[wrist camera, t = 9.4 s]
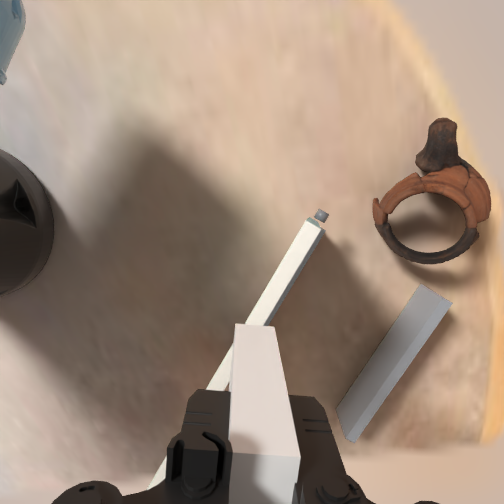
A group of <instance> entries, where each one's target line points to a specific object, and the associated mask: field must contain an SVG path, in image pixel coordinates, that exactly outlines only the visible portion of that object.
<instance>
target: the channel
mask: <svg viewBox="0 0 504 504" xmlns="http://www.w3.org/2000/svg"><path fill="white" fill-rule="evenodd" d="M328 216H329V214H327V213H326V212H324V211H322V210H320V209H318V211H317V213H316V214H315V216H314V217H315V218H316V219H318V220H320V221H322V222H323V223H325V221H326V219H327V218H328ZM320 228H321V227H320ZM324 233H325V230H324V229H323V228H321V230H320V232H319V234H318V235H317V237H316V239H315V240H314V242H313V244H312V245H311V247H310V249H309V250H308V252H307V254H306V255H305V257H304V259H303V260H302V262H301V264H300V265H299V267H298V269H297V270H296V272H295V274H294V275H293V277H292V278H291V280H290V282H289V283H288V285H287V287H286V288H285V290H284V292H283V293H282V295H281V297H280V298H279V300H278V302H277V303H276V305H275V307H274V308H273V310H272V312H271V313H270V315H269V317H268V318H267V320H266V322H265V323H264V325H263V326H268V325H269V323H270V322H271V320H272V318H273V317H274V315H275V314H276V312H277V310H278V309H279V307H280V305H281V304H282V302H283V300H284V299H285V297H286V295H287V294H288V292H289V290H290V289H291V287H292V285H293V284H294V282H295V281H296V279H297V277H298V276H299V274H300V272H301V271H302V269H303V267H304V266H305V264H306V262H307V261H308V259H309V257H310V256H311V254H312V252H313V251H314V249H315V248H316V246H317V244H318V243H319V241H320V239H321V238H322V236H323V234H324ZM452 304H453V303H452V302H450V301H448V300H447V299H445V298H444V297H442V296H440V295H439V294H437V293H436V292H434V291H432V290H431V289H429V288H427V287H426V286H424V285H422V284H420V285H419V287H418V288H417V290H416V291H415V293H414V294H413V296H412V297H411V299H410V300H409V302H408V303H407V305H406V306H405V308H404V309H403V311H402V312H401V314H400V315H399V316H398V318H397V319H396V321H395V322H394V324H393V325H392V327H391V328H390V330H389V331H388V333H387V334H386V336H385V337H384V339H383V340H382V342H381V343H380V345H379V346H378V348H377V349H376V350H375V352H374V353H373V355H372V356H371V358H370V359H369V361H368V362H367V364H366V365H365V367H364V368H363V370H362V371H361V373H360V374H359V376H358V377H357V379H356V380H355V381H354V383H353V384H352V386H351V387H350V389H349V390H348V392H347V393H346V395H345V396H344V398H343V399H342V401H341V402H340V404H339V405H338V407H337V408H336V412H337V415H338V418H339V421H340V424H341V427H342V430H343V433H344V435H345V438H346V439H347V440H349V441H351V442H353V443H355V442H356V440H357V439H358V437H359V436H360V435H361V433H362V432H363V430H364V429H365V427H366V426H367V425H368V423H369V422H370V420H371V419H372V417H373V416H374V415H375V413H376V412H377V410H378V409H379V408H380V406H381V405H382V403H383V402H384V400H385V399H386V398H387V396H388V395H389V393H390V392H391V390H392V389H393V388H394V386H395V385H396V383H397V382H398V380H399V379H400V378H401V376H402V375H403V373H404V372H405V370H406V369H407V368H408V366H409V365H410V363H411V362H412V361H413V359H414V358H415V356H416V355H417V353H418V352H419V351H420V349H421V348H422V346H423V345H424V343H425V342H426V341H427V339H428V338H429V336H430V335H431V333H432V332H433V331H434V329H435V328H436V326H437V325H438V324H439V322H440V321H441V319H442V318H443V316H444V315H445V314H446V312H447V311H448V309H449V308H450V306H451V305H452Z"/></svg>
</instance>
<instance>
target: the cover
mask: <svg viewBox="0 0 504 504" xmlns="http://www.w3.org/2000/svg"><path fill="white" fill-rule="evenodd" d="M320 230H321V228H320V226H319V224H318V222H317V221H315V220H313V219H312V218H310V217H309V218H308V219H307V220H306V221H305V223H304V224H303V226H302V228H301V229H300V231H299V233H298V234H297V236H296V238H295V240H294V241H293V243H292V245H291V246H290V248H289V250H288V251H287V253H286V255H285V256H284V258H283V260H282V261H281V263H280V265H279V267H278V268H277V270H276V272H275V273H274V275H273V277H272V278H271V280H270V282H269V283H268V285H267V287H266V288H265V290H264V292H263V294H262V295H261V297H260V299H259V300H258V302H257V304H256V305H255V307H254V309H253V310H252V312H251V314H250V316H249V317H248V319H247V321H246V322H245V324H248V325H259V326H263V325H264V323H265V322H266V320H267V318H268V317H269V315H270V313H271V312H272V310H273V308H274V307H275V305H276V303H277V302H278V300H279V298H280V297H281V295H282V293H283V292H284V290H285V288H286V287H287V285H288V283H289V282H290V280H291V278H292V277H293V275H294V274H295V272H296V270H297V269H298V267H299V265H300V264H301V262H302V260H303V259H304V257H305V255H306V254H307V252H308V250H309V249H310V247H311V245H312V244H313V242H314V240H315V239H316V237H317V235H318V234H319V232H320ZM232 353H233V344H232V346H231V348H230V349H229V351H228V353H227V354H226V356H225V358H224V359H223V361H222V363H221V365H220V366H219V368H218V370H217V371H216V373H215V375H214V376H213V378H212V380H211V381H210V383H209V385H208V386H207V388H206V390H216V391H224V390H225V388H226V386H227V385H228V383H229V381H230V373H231V363H232ZM166 459H167V456H166V457H165V459H164V461H163V462H162V464H161V466H160V468H159V469H158V471H157V473H156V474H155V476H154V478H153V479H152V481H151V483H150V484H149V486H148V488H147V490H149V489H151V488H152V487H154V486H156V485H158V484H159V483H160V482H161V481H163V480H164V479H165V475H166Z"/></svg>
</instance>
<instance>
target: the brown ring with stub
mask: <svg viewBox="0 0 504 504" xmlns="http://www.w3.org/2000/svg"><path fill="white" fill-rule="evenodd" d="M456 130H457V124H456V123H455V122H453V121H452V120H449V119H448V118H438V119H436V120H435V121H434V122H433V123H432V124H431V125H430V126H429V131H428V139H427V143H426V145H425V147H424V148H423V150H422V151H421V152H420V153H418V154H417V155H416V161H415V163H416V165H417V166H418V167H419V168H420V169H421V170H423V171H425V172H430V173H429V174H427V175H426V176H424V177H420V176H419V175H418V174H417V173H416V172H415V173H413V174H411V175H410V176H408V177H406V178H405V179H403V180H402V181H400V182H398V183H397V184H396V185H395V186H394V187H393V188H392V189H391V190H390V191H388V192H387V193H386V195H385V196H384V197H383V199H382V200H381V202H380V204H379V200H378V198H375V199H374V200H373V218H374V221H375V226H376V228H377V230H378V232H379V233H380V235H381V236H382V237H383V239H384V240H385V242H386V243H387V245H388V246H389V247H390V248H391V249H392V250H393V251H394V252H395V253H396V254H398V255H399V256H401V257H404V258H405V259H407V260H410V261H412V262H417V263H421V264H437V263H443V262H445V261H449V260H451V259H454V258H455V257H458V256H459V255H461V254H462V253H464V252H465V251H466V250H468V249H469V248H470V245H472V244H473V243H474V242H475V241H476V240H477V239H478V238H479V233H478V232H477V229H476V227H477V223H478V222H481V221H484V220H486V219H488V217H489V213H490V210H491V197H490V190H489V188H488V185H487V183H486V181H485V180H484V178H482V176H481V175H480V174H479V173H478V172H477V171H476V170H475V169H474V168H473V167H472V166H471V165H470V164H468V163H467V162H466V161H465V160H463V159H461V158H460V157H459V156H458V147H457V142H456ZM424 192H428V193H437V194H441V195H444V196H446V197H448V198H450V199H452V200H453V201H454V202H456V203H457V204H458V205H459V206H460V208H461V209H462V211H463V213H464V216H465V220H466V229H465V232H464V234H463V236H462V237H461V239H460V240H459V241H458V242H457V243H456V244H455V245H453V246H452V247H450V248H448V249H446V250H444V251H440V252H434V253H424V252H418V251H414V250H412V249H410V248H408V247H406V246H405V245H403V244H402V243H400V242H399V241H398V240H397V238H396V237H395V235H394V234H393V232H392V230H391V226H390V224H389V223H388V222H387V221H388V214H391V213H392V212H393V211H394V209H395V208H396V207H397V205H398V204H399V203H400V202H401V201H403V200H404V199H406V198H408V197H410V196H412V195H416V194H420V193H424Z"/></svg>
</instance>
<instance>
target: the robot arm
mask: <svg viewBox="0 0 504 504" xmlns="http://www.w3.org/2000/svg"><path fill="white" fill-rule="evenodd" d="M25 23H26V17H25V11H24V6H23V3H22V1H21V0H0V84H2V85H4V84H5V82H6V79H7V77H6V74H5V73H6V70H7V68H8V65H9V63H10V61H11V58H12V56H13V54H14V52H15V49H16V47H17V45H18V43H19V41H20V39H21V37H22V34H23V32H24V29H25ZM53 235H54V224H53V216H52V211H51V207H50V204H49V201H48V199H47V196H46V194H45V192H44V190H43V188H42V187H41V185H40V183H39V182H38V180H37V179H36V178H35V176H34V175H33V174H32V173H31V172H30V171H29V170H28V168H27V167H26V166H24V165H23V164H22V163H21V162H20V161H19V160H17V159H16V158H15V157H13V156H12V155H10V154H8V153H7V152H5V151H3V150H1V149H0V297H2V296H4V295H6V294H8V293H11V292H13V291H15V290H17V289H19V288H21V287H23V286H25V285H26V284H27V283H29V282H30V281H31V280H32V279H33V278H34V277H36V275H37V274H38V273H39V272H40V271H41V269H42V268H43V266H44V265H45V263H46V261H47V259H48V257H49V254H50V251H51V248H52V243H53ZM52 504H375V503H373V502H371V501H370V500H368V499H367V498H366V496H365V494H364V493H363V491H362V489H361V487H360V486H359V484H357V482H355V481H354V480H353V479H352V478H351V477H350V476H348V475H347V474H346V471H345V468H344V465H343V462H342V459H341V456H340V453H339V451H338V448H337V445H336V442H335V439H334V436H333V434H332V430H331V427H330V424H329V423H328V418H327V415H326V413H325V410H324V408H323V407H322V405H321V404H320V403H319V402H318V401H317V400H316V399H315V398H314V397H308V396H295V395H288V392H287V387H286V382H285V377H284V372H283V367H282V362H281V357H280V352H279V347H278V342H277V337H276V332H275V327H271V326H259V325H248V324H236V323H235V333H234V343H233V353H232V363H231V373H230V383H229V391H216V390H204V389H198V390H197V391H196V392H195V393H194V394H193V395H192V396H191V397H190V398H189V400H188V404H187V409H186V414H185V417H184V421H183V425H182V430H181V432H180V433H179V434H177V435H176V436H175V437H174V438H172V440H171V442H170V443H169V445H168V447H167V459H166V475H165V479H164V480H163V481H161V482H160V483H159V484H158V485H156V486H154V487H152V488H151V489H149V490H145V491H142V492H139V493H135V494H130V495H126V496H122V495H121V493H120V492H119V490H118V488H117V487H115V486H114V485H112V484H110V483H108V482H103V481H89V482H84V483H80V484H78V485H76V486H74V487H72V488H70V489H68V490H66V491H65V492H63V493H62V494H61V495H60V496H59V497H58V498H57V499H55V500H54V501H53V503H52ZM415 504H439V503H436V502H433V501H419V502H417V503H415Z"/></svg>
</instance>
